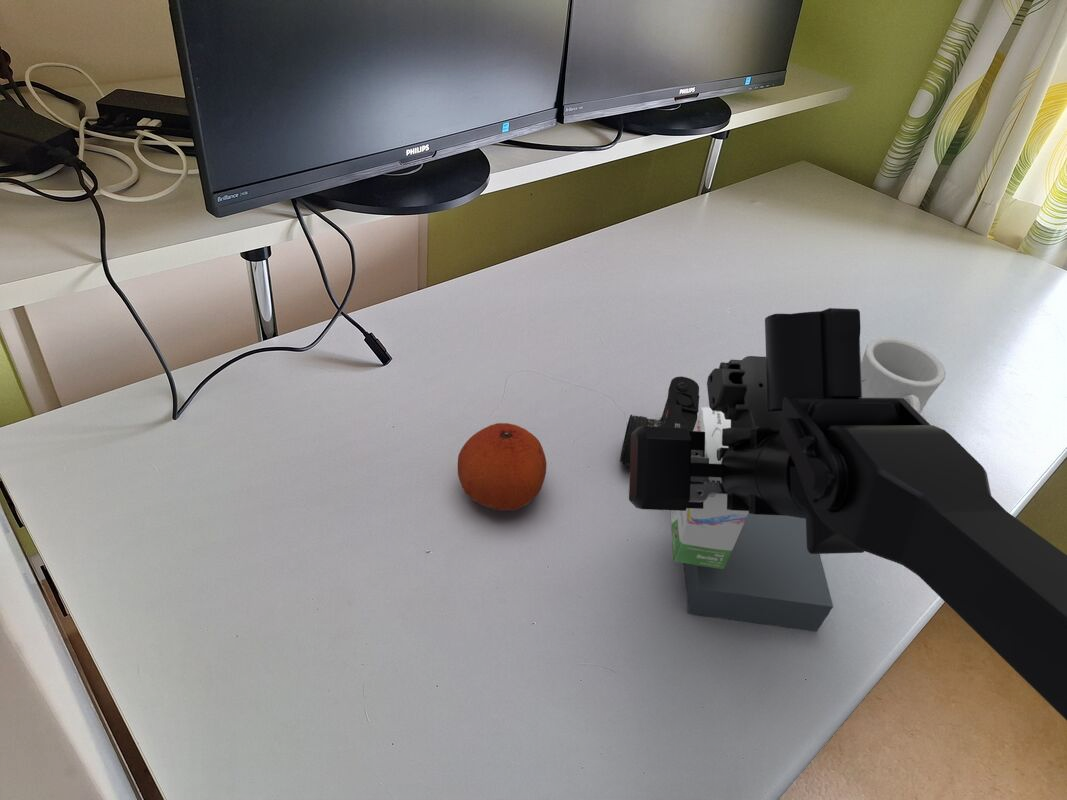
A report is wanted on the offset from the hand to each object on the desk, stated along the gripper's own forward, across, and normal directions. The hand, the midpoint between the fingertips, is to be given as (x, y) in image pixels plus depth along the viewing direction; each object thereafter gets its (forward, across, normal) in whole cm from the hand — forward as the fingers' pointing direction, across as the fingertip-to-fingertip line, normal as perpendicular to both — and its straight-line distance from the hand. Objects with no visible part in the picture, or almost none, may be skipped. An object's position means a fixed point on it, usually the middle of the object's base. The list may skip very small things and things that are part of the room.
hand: (713, 470), depth 66 cm
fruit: (+14, +18, +3) cm, 23 cm away
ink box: (+4, 0, +6) cm, 7 cm away
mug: (+22, -28, -5) cm, 36 cm away
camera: (+18, 0, -1) cm, 18 cm away
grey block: (+8, -6, +9) cm, 14 cm away
